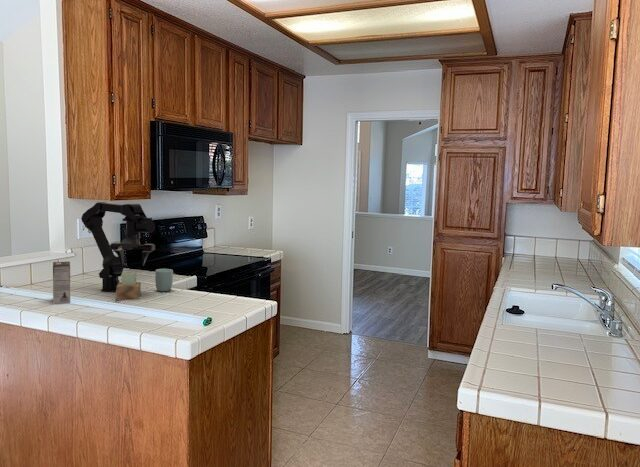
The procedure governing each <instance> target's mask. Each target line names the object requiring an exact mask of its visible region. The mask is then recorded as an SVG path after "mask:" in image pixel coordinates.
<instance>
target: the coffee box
mask: <svg viewBox="0 0 640 467" xmlns="http://www.w3.org/2000/svg"><path fill="white" fill-rule="evenodd" d="M52 295H53V296H52V298H53V300H52V301H53V305H54V304H56V305H57V304H69V303H71V262H70V261H69V260H68V261H53V262H52Z"/></svg>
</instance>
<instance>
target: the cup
mask: <svg viewBox="0 0 640 467" xmlns="http://www.w3.org/2000/svg"><path fill="white" fill-rule="evenodd" d="M154 276H155V277H154V280H155V282H154V284H155V288H156V290H157V291H158V292H161V293H163V292H169V291H171V290H172V287H173V283H174V282H173V279H174V270H173V269H171V268H170V269H169V268H159V269H158V268H157V269H155V275H154Z"/></svg>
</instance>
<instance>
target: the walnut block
mask: <svg viewBox="0 0 640 467" xmlns="http://www.w3.org/2000/svg"><path fill="white" fill-rule="evenodd" d="M141 283H142V282H141V281H140V282H139V281H136V284H135V285H133V286H130V285H122V281H121V282H119V284H118V285H117V286H116V291H115V292H116V293H115V295H116V298H115V299H116V300H117V301H122V300H123V301H124V300H130V301H131V300H132V301H133V300H136V301H137V300H139V299H140V297H141V292H142V291H141V290H142V289H141V285H142V284H141Z"/></svg>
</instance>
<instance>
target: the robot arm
mask: <svg viewBox="0 0 640 467" xmlns="http://www.w3.org/2000/svg"><path fill="white" fill-rule="evenodd" d="M106 212H109V213H110V212H111V213H118V214H121V215H122V216H124V218H122V222H125V225H126V226H125V230H126V231H125V234H124V238H123V239H122V240H121V241H120V242H118V241H115V242H112V243H110V242H109V240H108V238H107V235H106V234H105V231H104V228H103V223H104V220H103V218H104V217H105V216H106ZM80 219H81V223H83V225H84V227H85V228H86V229H87V230H89V231H90V232H91V234H92V236H93V238H94V242H95V243H96V246H97V247H98V250H99V252H100V255H101V257H102V269H101V271H100V272H98V277H99V278H100V279H102V284H101V285H102V287H101V288H102V289H100V291H101V292H113V293H114V292H116V286H117V285H118V284H119V282H120V281H121V280H120V279H119V277H122V274H123V272H124V268H125V267H124V263H125V259H124V258H125V250H129V251H131V250H142V252H141V254H142V258H141V266H142V267H144V266H145V264H146V261H147V259H148V257H149V255H150V253H152V252H153V251H156V245H155V244H154V243H145V244H141V242H140V236H141V233H145V234H153V232H155V230H156V223H155V222H154V221H153V217H147V215H146V214H145V211H144V210H143V208H142V205H141V204H140V203H127V204H125V203H124V204H120V203H119V204H118V203H109V202H105V201H103V202H101V201H97V202H95V204H93V206H91V207H90V208H88V209H87V210H86V211H85V212H83V214H82V215H81V218H80ZM114 253H116V255H117V256H116V255H115V254H114Z"/></svg>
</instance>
